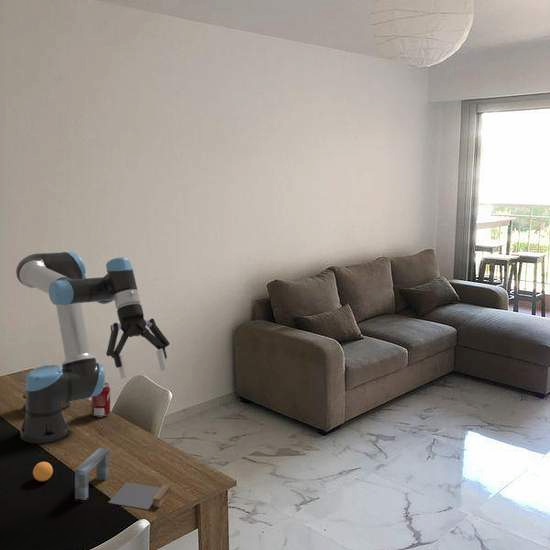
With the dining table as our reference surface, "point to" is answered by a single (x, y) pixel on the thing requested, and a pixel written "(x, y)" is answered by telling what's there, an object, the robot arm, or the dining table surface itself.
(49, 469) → the ball
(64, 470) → the dining table surface
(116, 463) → the dining table surface
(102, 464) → the bridge
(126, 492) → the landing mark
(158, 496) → the stopper wall
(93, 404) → the soda can
